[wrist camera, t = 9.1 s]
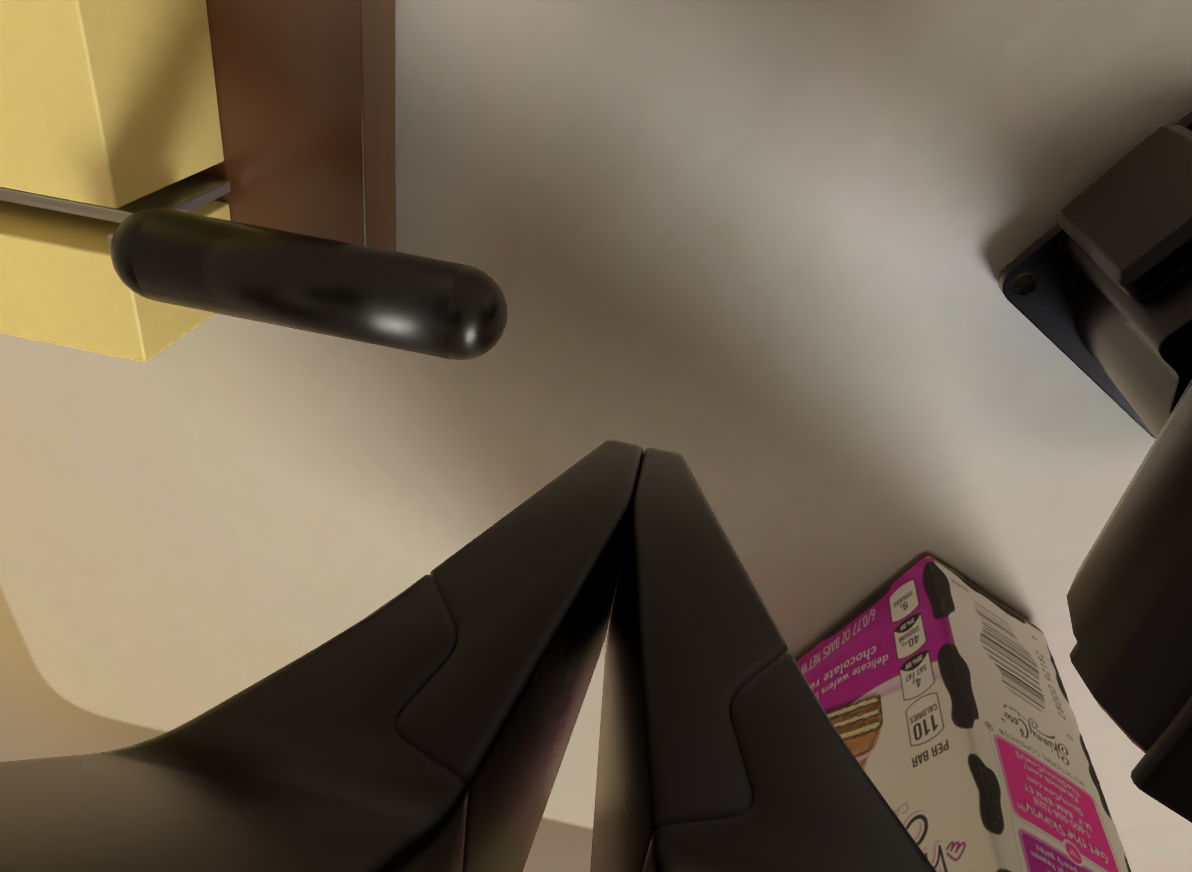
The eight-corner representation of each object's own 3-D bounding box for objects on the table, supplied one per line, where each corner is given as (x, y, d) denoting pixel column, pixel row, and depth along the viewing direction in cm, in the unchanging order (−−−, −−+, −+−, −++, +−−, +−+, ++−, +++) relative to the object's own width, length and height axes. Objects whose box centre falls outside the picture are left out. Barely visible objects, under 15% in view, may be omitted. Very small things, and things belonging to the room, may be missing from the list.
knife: (558, 207, 19) (495, 295, 14) (550, 281, 20) (489, 384, 15) (-25, 102, 20) (-250, 154, 16) (-5, 176, 21) (-212, 245, 17)
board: (395, -112, 18) (357, -116, 16) (396, 308, 23) (368, 338, 22) (-149, -196, 19) (-237, -207, 17) (-27, 226, 24) (-86, 249, 23)
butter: (194, -111, 17) (54, -120, 14) (240, 295, 22) (145, 364, 18) (-76, -154, 17) (-276, -171, 14) (28, 254, 22) (-102, 313, 19)
